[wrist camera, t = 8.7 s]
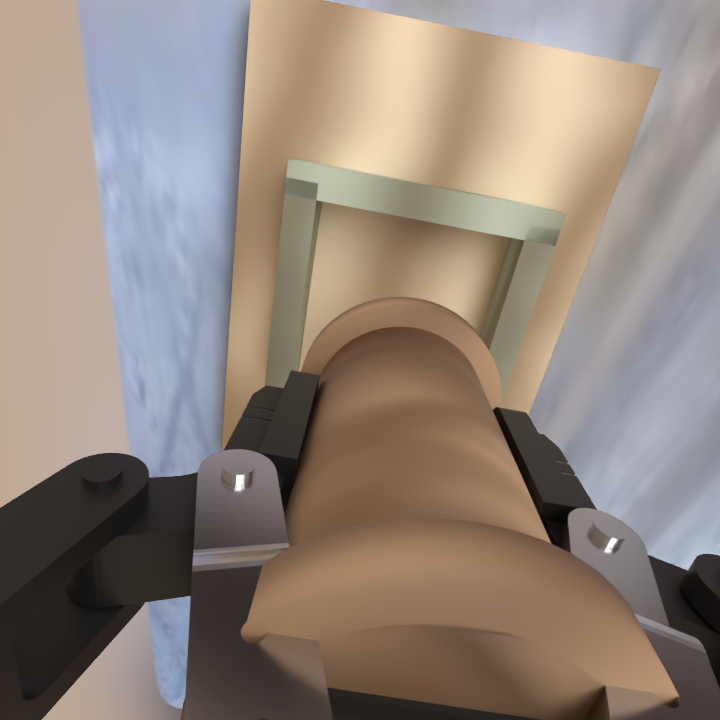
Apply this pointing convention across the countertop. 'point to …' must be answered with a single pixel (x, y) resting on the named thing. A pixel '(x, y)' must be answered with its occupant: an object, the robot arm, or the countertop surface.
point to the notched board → (417, 183)
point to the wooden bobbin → (435, 537)
